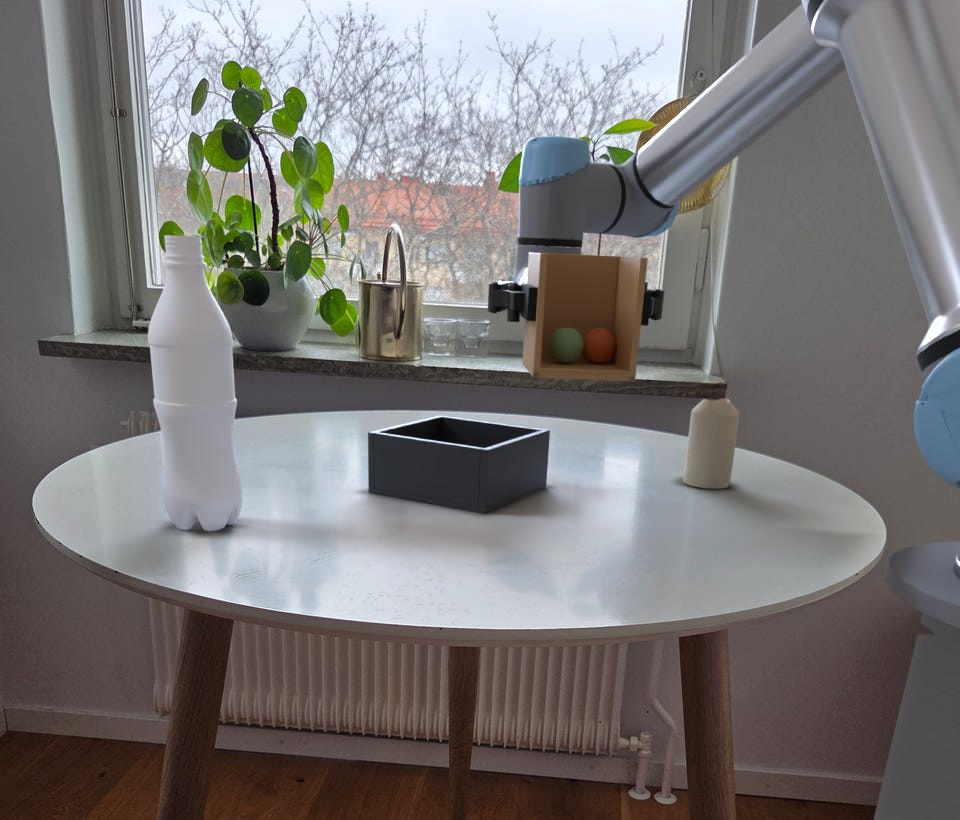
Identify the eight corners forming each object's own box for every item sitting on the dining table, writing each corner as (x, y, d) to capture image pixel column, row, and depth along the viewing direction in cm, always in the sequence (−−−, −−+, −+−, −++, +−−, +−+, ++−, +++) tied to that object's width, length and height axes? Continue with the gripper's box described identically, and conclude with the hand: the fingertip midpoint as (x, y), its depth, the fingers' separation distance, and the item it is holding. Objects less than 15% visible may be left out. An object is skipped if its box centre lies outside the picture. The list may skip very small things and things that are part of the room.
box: (522, 364, 90) (528, 252, 86) (614, 367, 91) (624, 256, 87) (532, 377, 81) (540, 253, 77) (635, 381, 82) (647, 258, 78)
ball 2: (615, 368, 89) (623, 333, 88) (605, 363, 86) (613, 327, 85) (584, 363, 90) (591, 329, 89) (573, 358, 87) (580, 322, 86)
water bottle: (166, 515, 90) (140, 234, 81) (242, 513, 92) (226, 237, 82) (163, 536, 84) (134, 234, 74) (245, 533, 86) (228, 237, 76)
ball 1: (569, 367, 89) (594, 344, 87) (560, 374, 86) (586, 350, 84) (547, 340, 88) (572, 317, 87) (538, 346, 86) (563, 322, 84)
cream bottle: (712, 477, 115) (723, 394, 112) (738, 487, 111) (751, 401, 107) (673, 479, 114) (684, 395, 110) (699, 490, 109) (711, 402, 105)
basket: (546, 487, 107) (550, 430, 105) (485, 513, 96) (487, 450, 93) (438, 469, 114) (439, 415, 111) (368, 492, 102) (367, 432, 99)
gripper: (652, 334, 102) (708, 357, 82) (454, 326, 101) (460, 347, 80) (660, 260, 99) (720, 264, 79) (456, 251, 98) (463, 253, 77)
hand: (589, 306), depth 79 cm, fingers closed on box, 9 cm apart
